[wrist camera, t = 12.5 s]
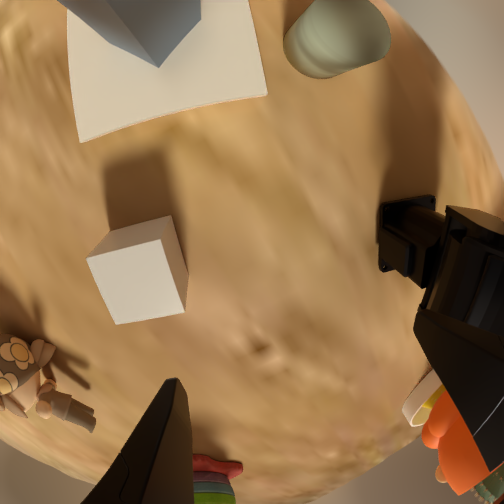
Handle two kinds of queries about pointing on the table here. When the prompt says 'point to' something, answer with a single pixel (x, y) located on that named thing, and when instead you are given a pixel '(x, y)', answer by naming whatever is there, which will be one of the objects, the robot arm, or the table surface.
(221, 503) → the stacking bear
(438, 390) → the potted cactus
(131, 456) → the robot arm
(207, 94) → the plate
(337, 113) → the table surface
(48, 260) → the table surface
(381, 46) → the sage cylinder
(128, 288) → the white cube
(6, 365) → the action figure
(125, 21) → the tall block
